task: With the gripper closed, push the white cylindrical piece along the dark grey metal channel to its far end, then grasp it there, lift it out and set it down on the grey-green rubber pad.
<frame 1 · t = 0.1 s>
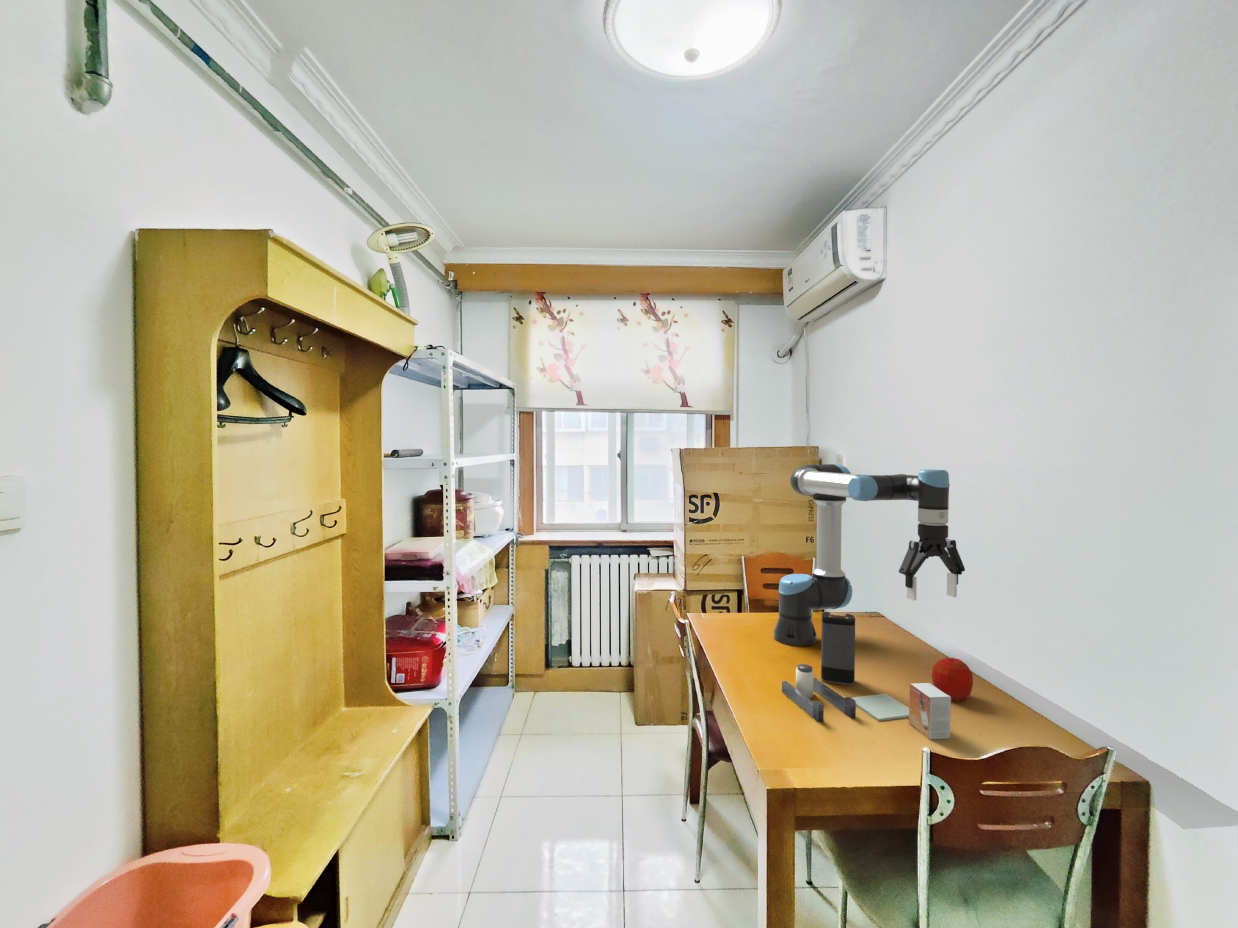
hand: (931, 597, 154), 28 cm above the table, fingers open, 13 cm apart
channel: (816, 703, 148), on the table
electronic device: (837, 680, 163), on the table
pad: (881, 707, 146), on the table
white cylindrical piece: (804, 694, 154), on the table
small box: (928, 731, 134), on the table
apple: (952, 697, 153), on the table
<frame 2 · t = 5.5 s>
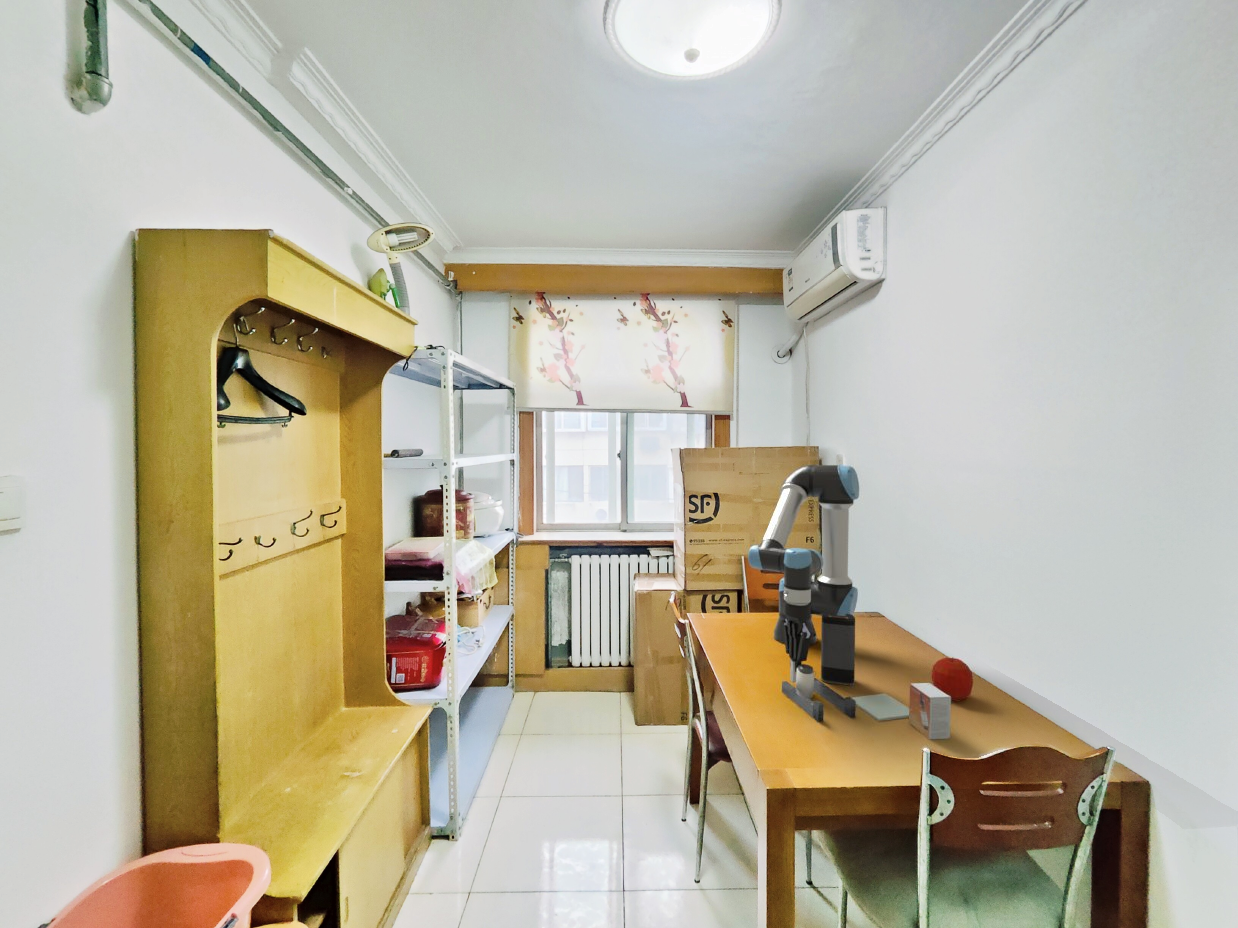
hand: (795, 681, 158), 2 cm above the table, fingers closed
white cylindrical piece: (804, 693, 154), on the table, tilted 7°, touching gripper
everything else where it was.
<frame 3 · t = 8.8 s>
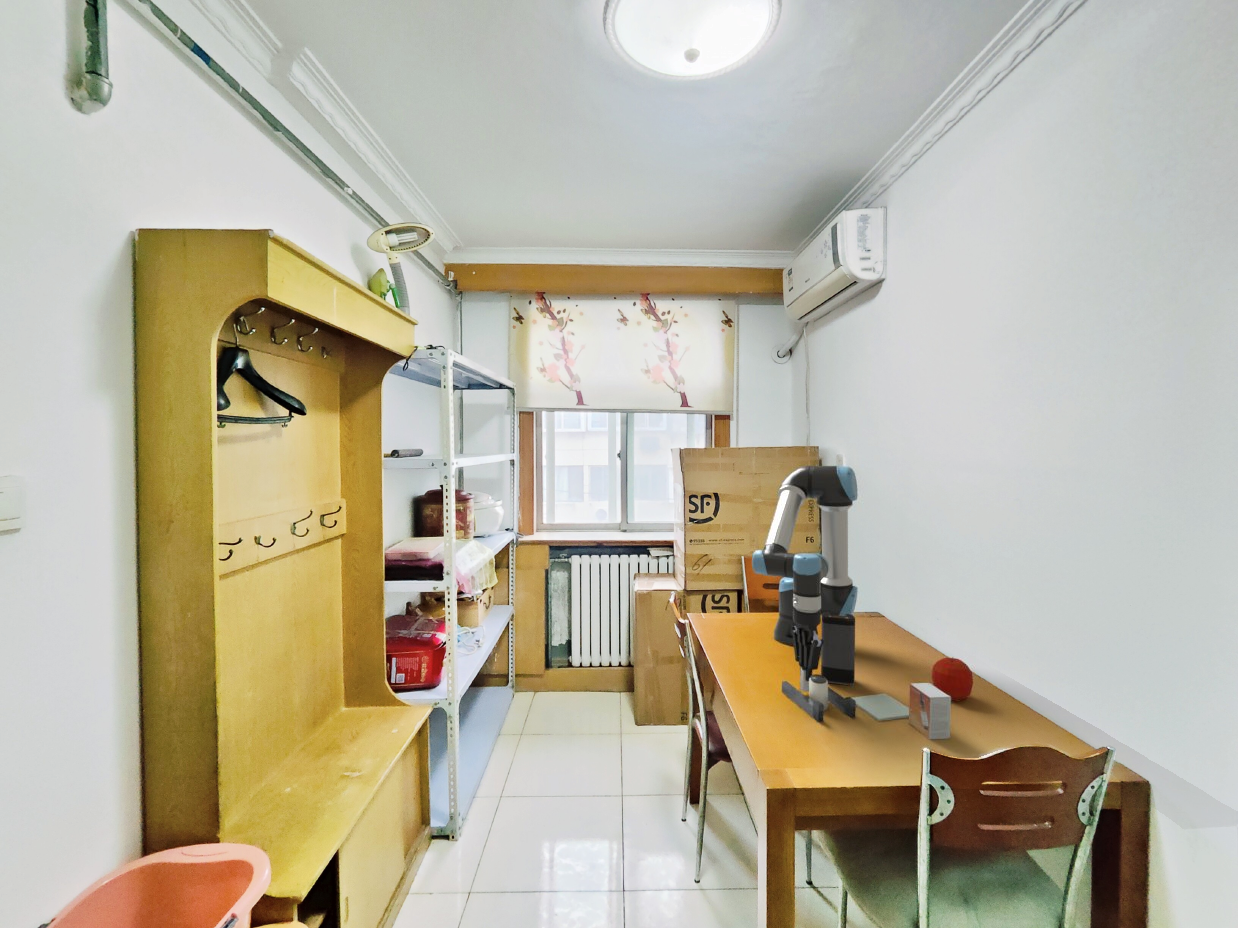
hand: (806, 690, 154), 1 cm above the table, fingers closed
white cylindrical piece: (818, 705, 147), on the table
everything else where it was.
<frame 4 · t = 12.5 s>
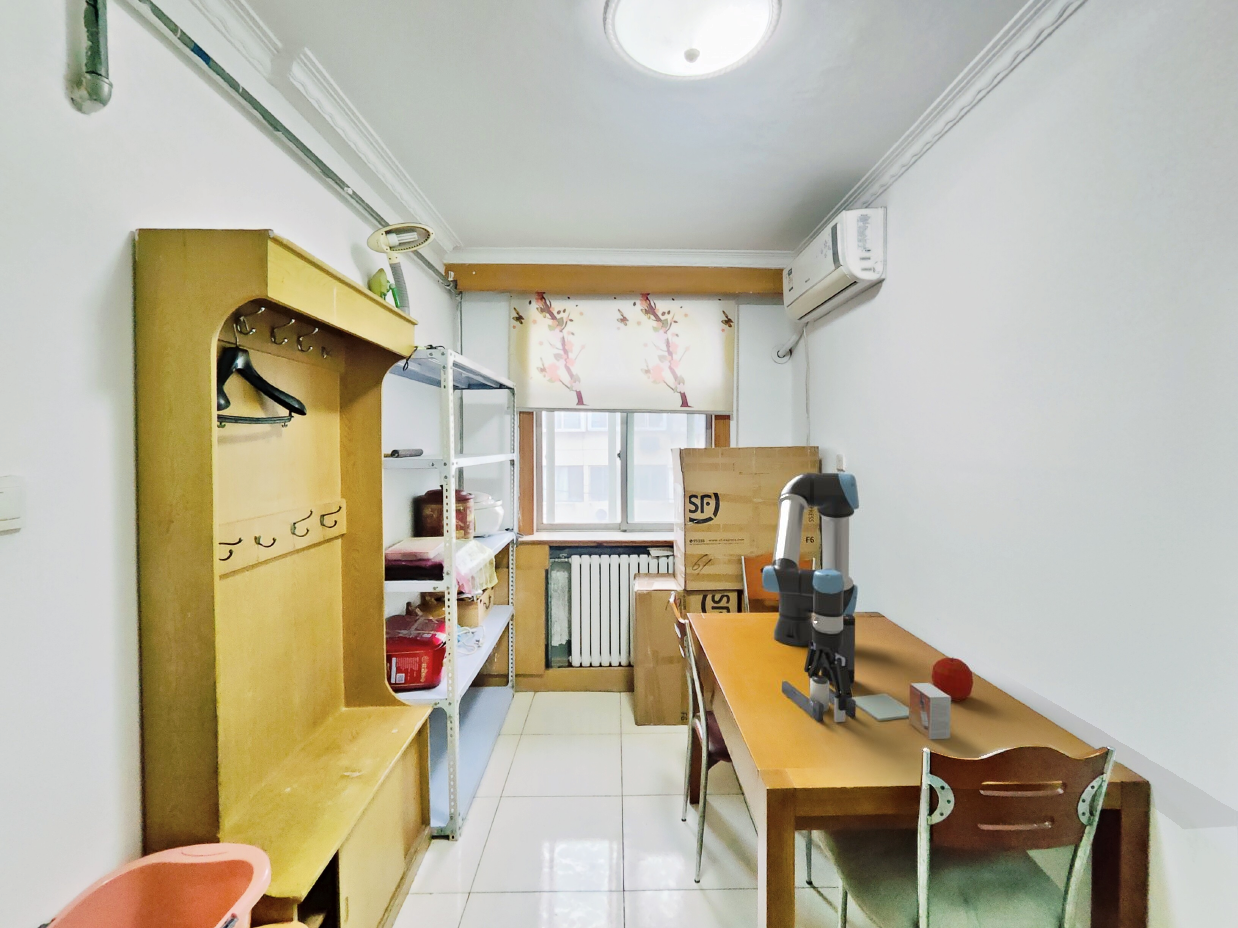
hand: (826, 710, 144), 0 cm above the table, fingers open, 10 cm apart
white cylindrical piece: (819, 706, 147), on the table, touching gripper
everything else where it was.
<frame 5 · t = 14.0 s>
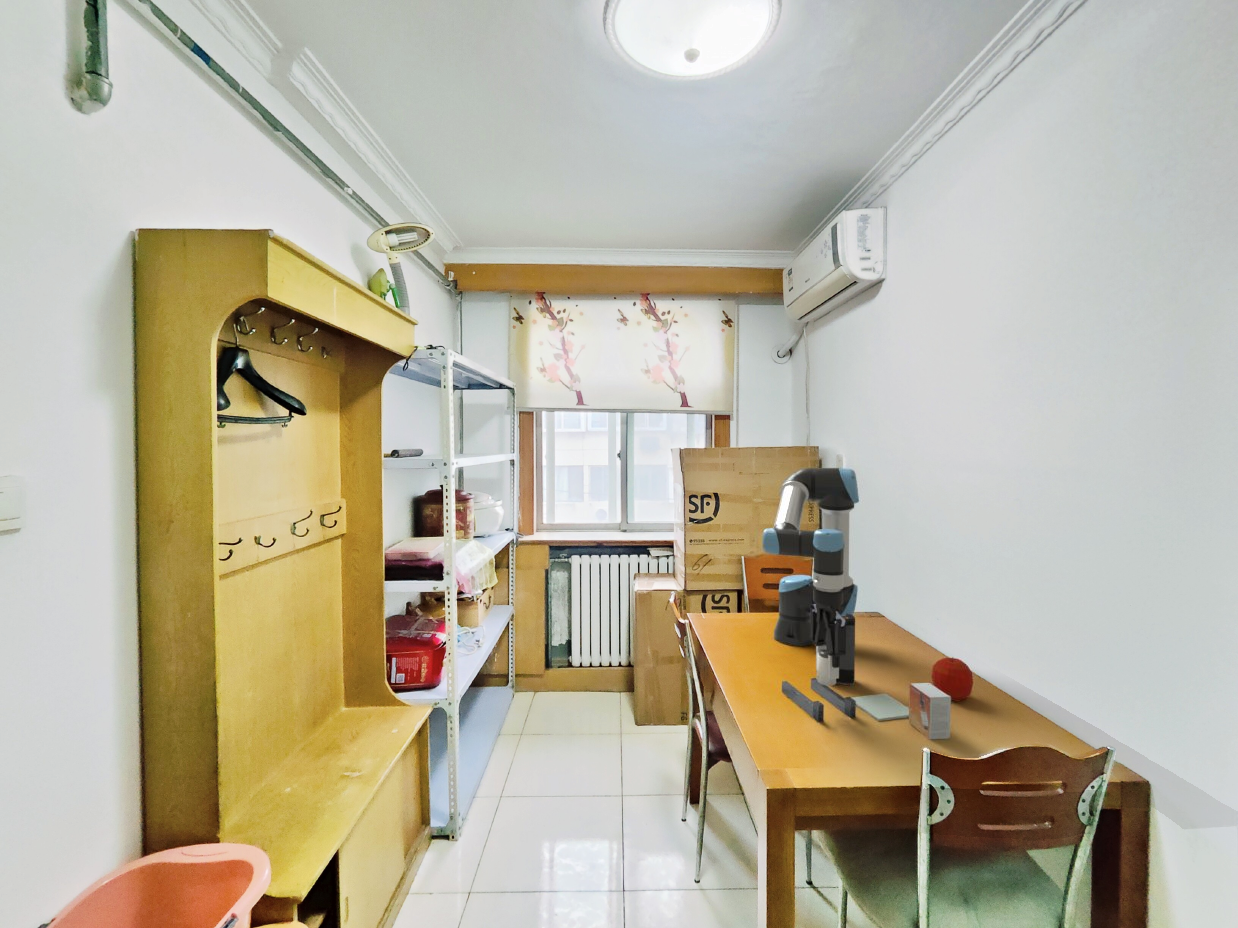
hand: (827, 673, 144), 10 cm above the table, fingers closed on white cylindrical piece, 5 cm apart
white cylindrical piece: (826, 681, 144), point 8 cm above the table, touching gripper
everything else where it was.
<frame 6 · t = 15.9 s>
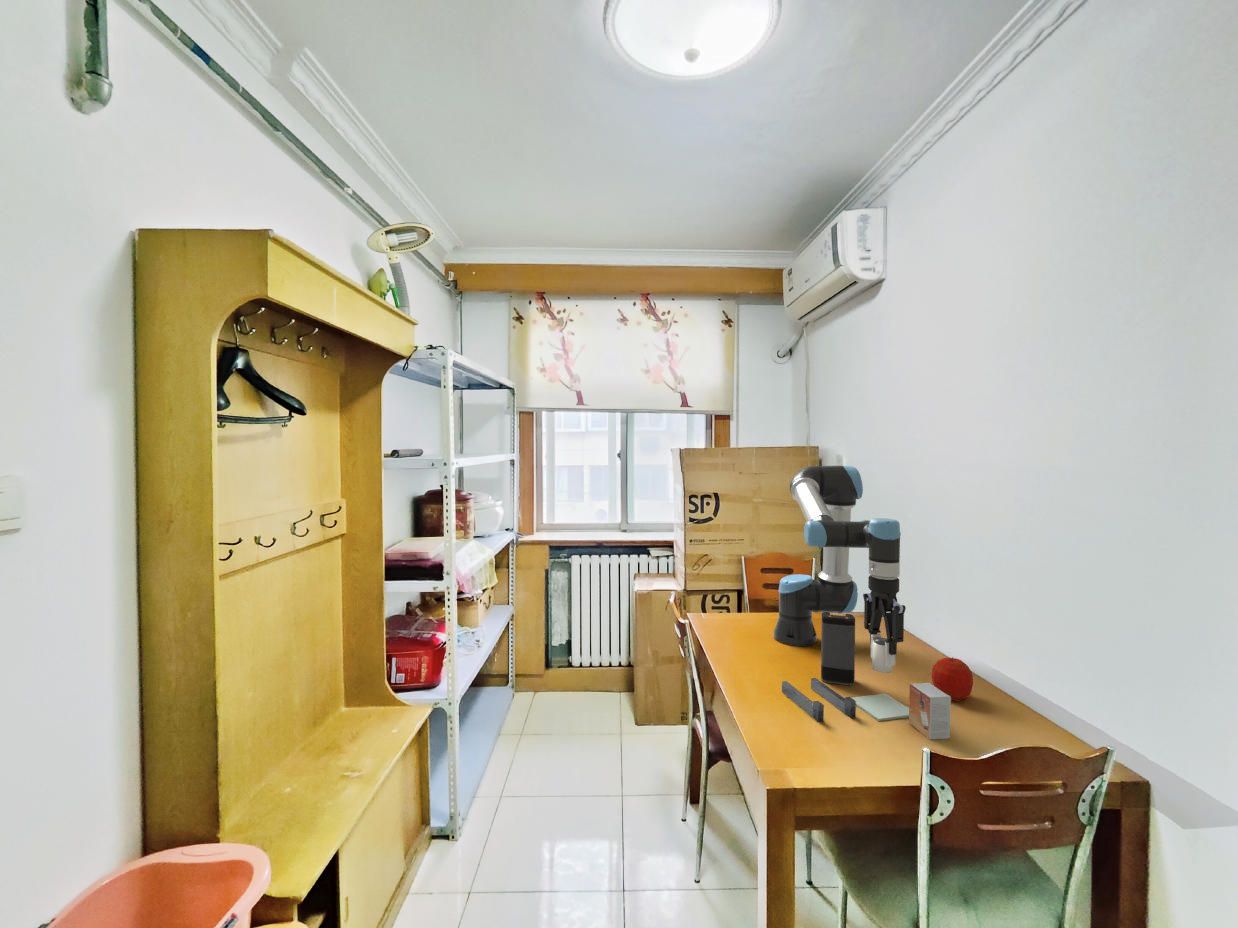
hand: (882, 661, 146), 13 cm above the table, fingers closed on white cylindrical piece, 5 cm apart
white cylindrical piece: (882, 669, 146), point 11 cm above the table, touching gripper
everything else where it was.
when the fingers open (1 cm above the table, at t = 18.1 s): white cylindrical piece stays where it is, resting on pad.
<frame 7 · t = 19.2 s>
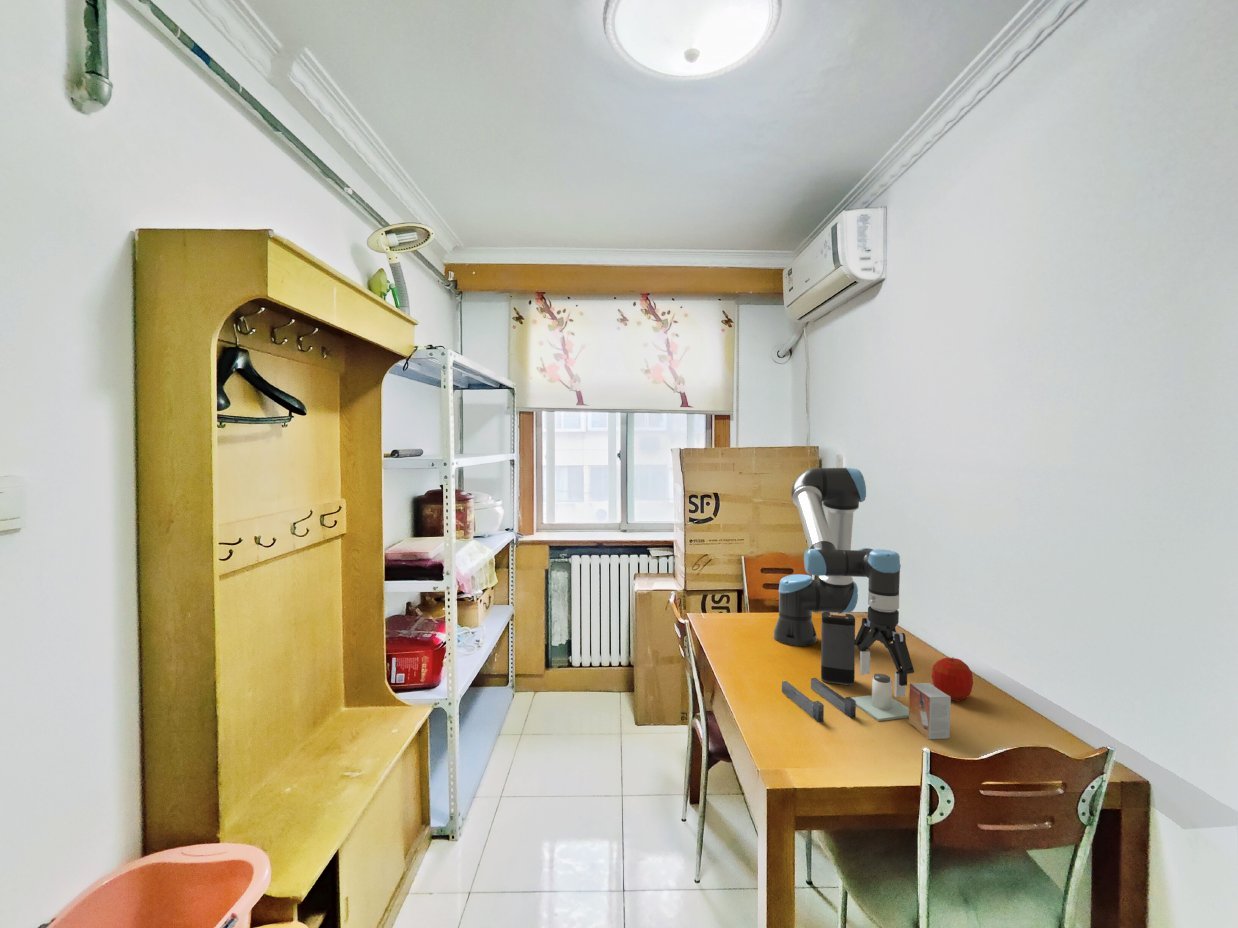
hand: (881, 684, 147), 6 cm above the table, fingers open, 13 cm apart
white cylindrical piece: (881, 705, 146), point 1 cm above the table, touching pad
everything else where it was.
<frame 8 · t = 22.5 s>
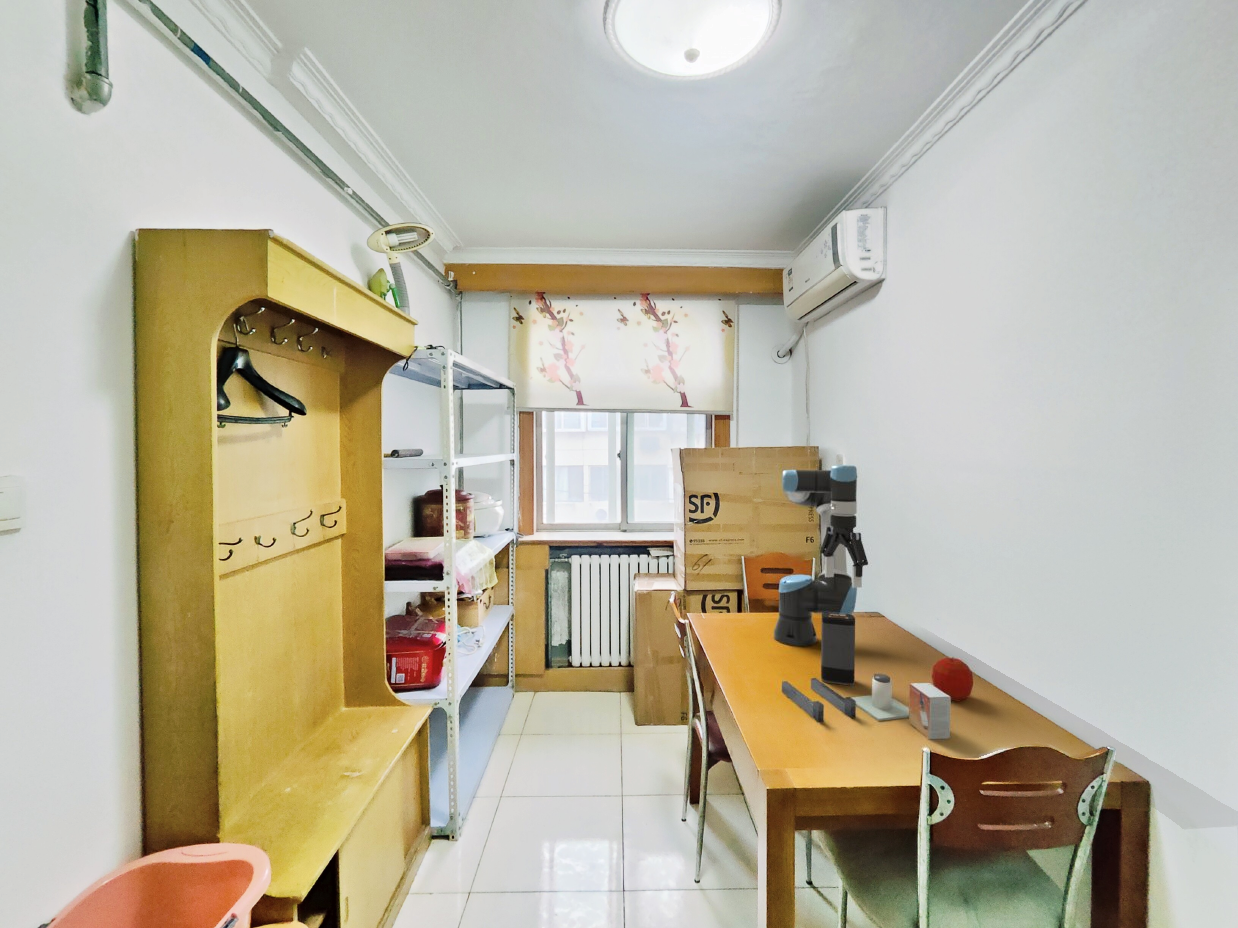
hand: (842, 581, 169), 29 cm above the table, fingers open, 13 cm apart
nothing on the table moved.
at the end: white cylindrical piece inside the target area on the pad (0.2 cm from its centre), point 0.6 cm above the pad's base; white cylindrical piece tilted 0°; the gripper is holding nothing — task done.
